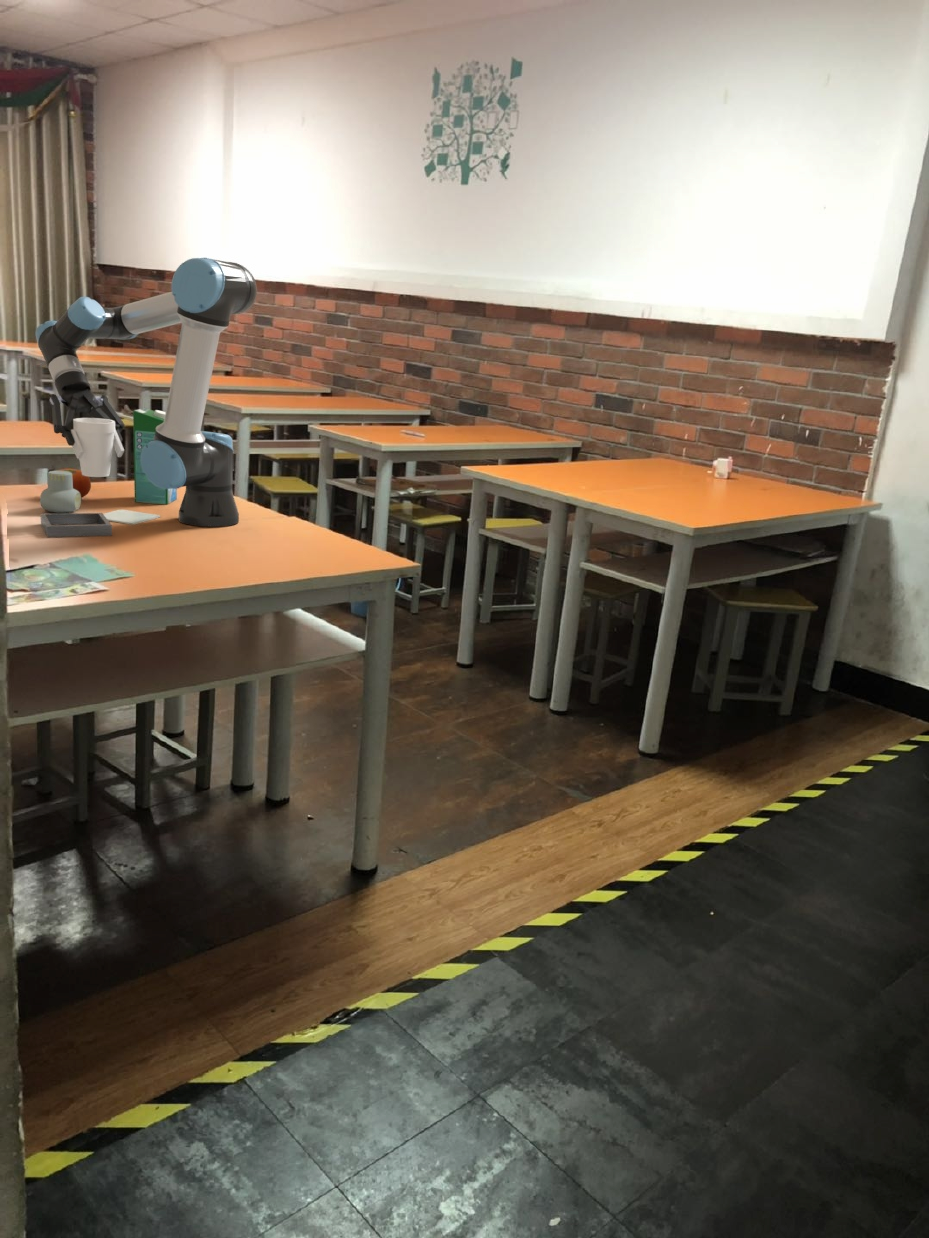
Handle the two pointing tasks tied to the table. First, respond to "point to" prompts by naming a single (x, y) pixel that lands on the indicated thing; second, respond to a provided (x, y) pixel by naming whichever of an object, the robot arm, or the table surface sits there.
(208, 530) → the table surface
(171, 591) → the table surface
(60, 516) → the grey square frame
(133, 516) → the pad
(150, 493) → the milk carton
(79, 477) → the fruit
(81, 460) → the foam cup
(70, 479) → the air freshener
